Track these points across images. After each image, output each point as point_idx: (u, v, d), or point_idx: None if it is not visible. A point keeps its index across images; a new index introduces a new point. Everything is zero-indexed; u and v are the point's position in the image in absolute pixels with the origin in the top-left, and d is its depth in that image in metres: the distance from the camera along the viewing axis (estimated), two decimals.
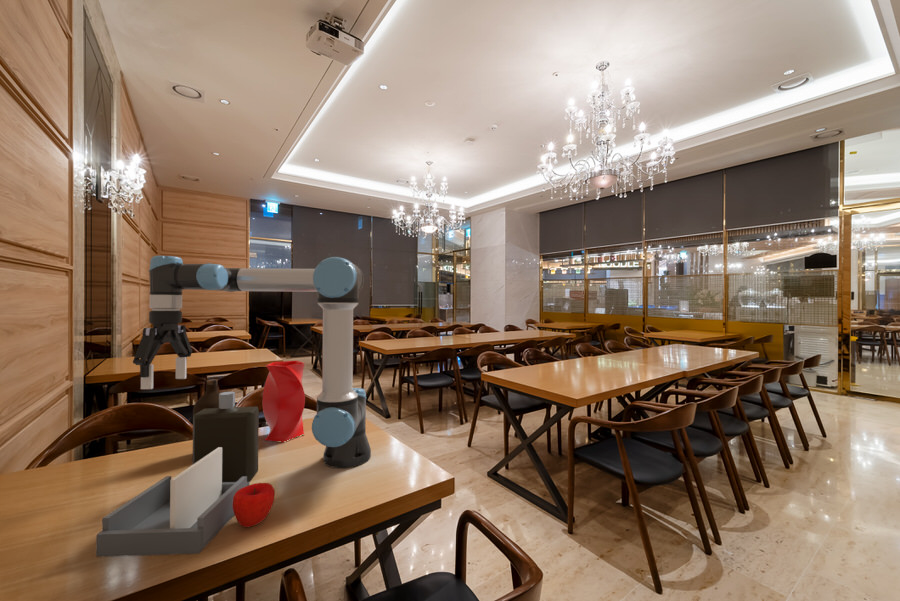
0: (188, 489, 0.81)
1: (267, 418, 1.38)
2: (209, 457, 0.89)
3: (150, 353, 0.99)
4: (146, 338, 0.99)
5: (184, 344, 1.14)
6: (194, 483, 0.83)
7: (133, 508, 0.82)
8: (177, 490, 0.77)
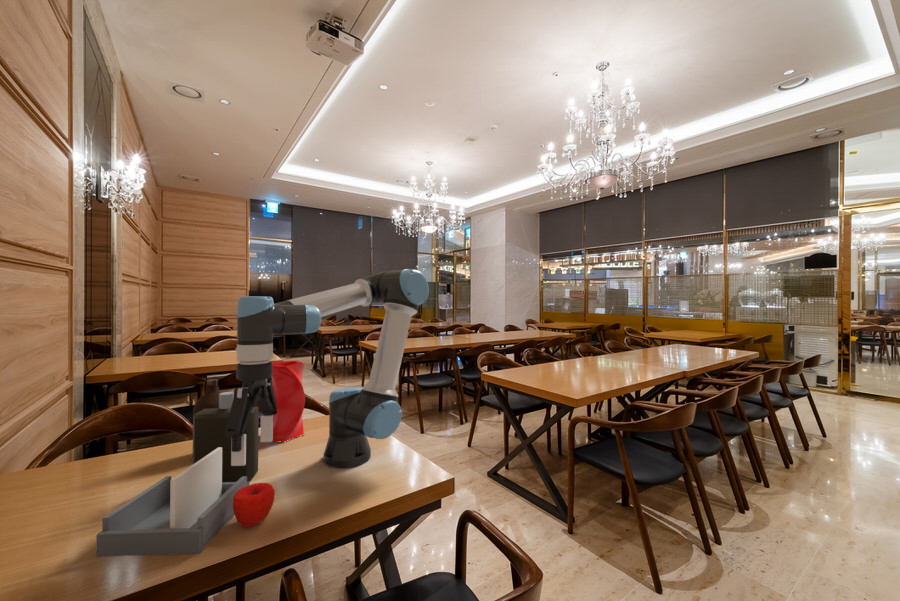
0: (188, 489, 0.81)
1: None
2: (209, 457, 0.89)
3: (242, 420, 0.80)
4: (238, 402, 0.79)
5: (269, 399, 0.94)
6: (194, 483, 0.83)
7: (133, 508, 0.82)
8: (177, 490, 0.77)
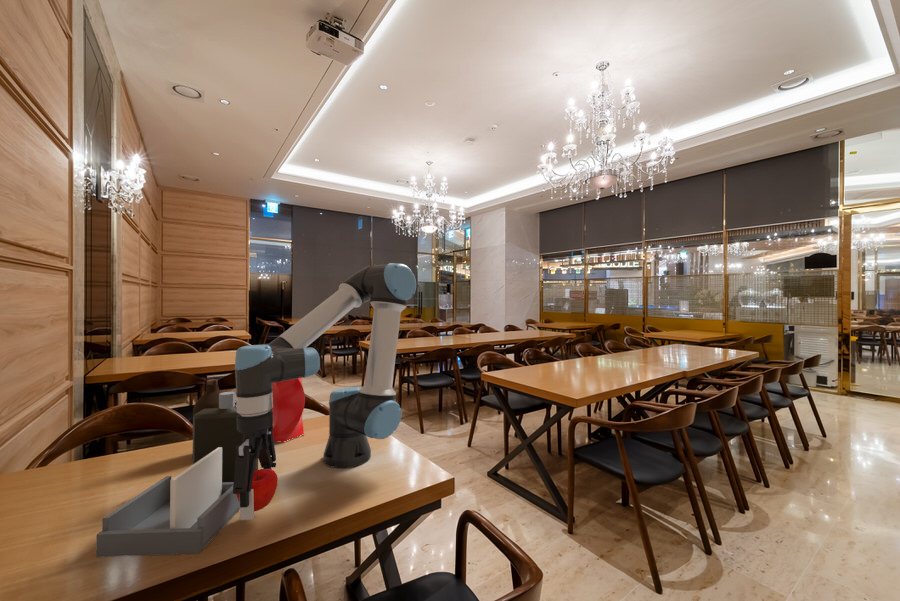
0: (188, 489, 0.81)
1: None
2: (209, 457, 0.89)
3: (248, 476, 0.81)
4: (241, 460, 0.80)
5: (269, 450, 0.93)
6: (194, 483, 0.83)
7: (133, 508, 0.82)
8: (177, 490, 0.77)
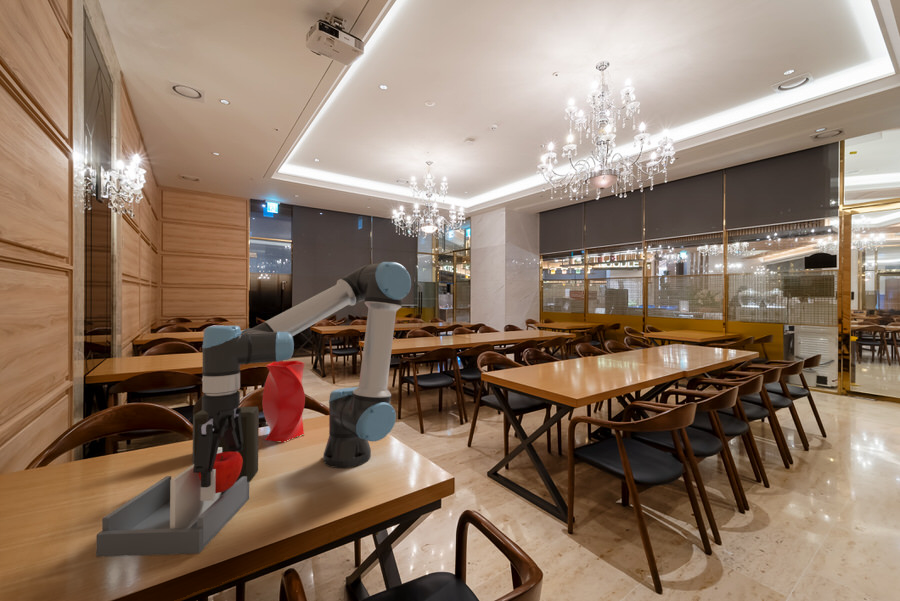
0: (188, 489, 0.81)
1: (267, 418, 1.38)
2: None
3: (210, 455, 0.80)
4: (203, 439, 0.79)
5: (236, 433, 0.92)
6: (194, 483, 0.83)
7: (133, 508, 0.82)
8: (177, 490, 0.77)
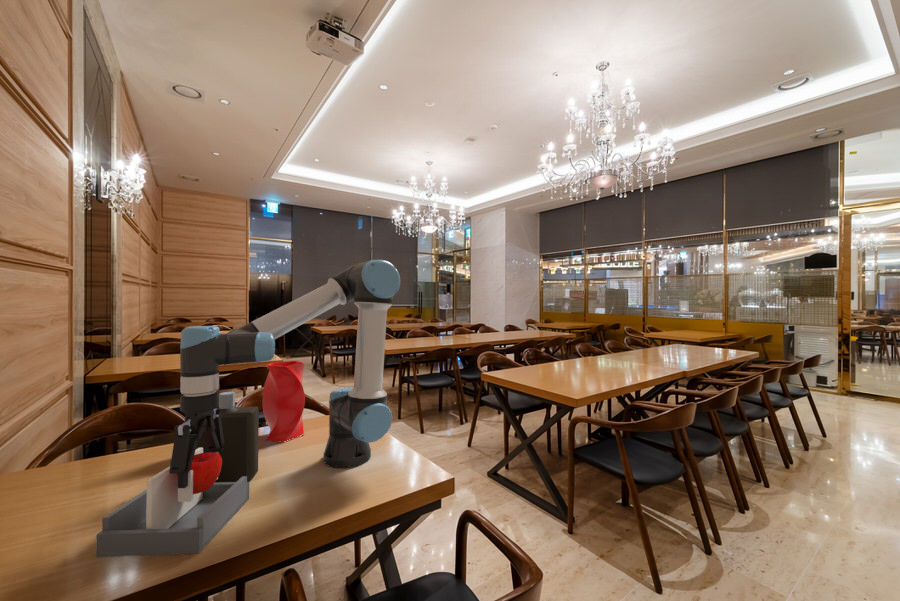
0: (166, 490, 0.81)
1: (267, 418, 1.38)
2: None
3: (187, 456, 0.80)
4: (180, 439, 0.79)
5: (216, 433, 0.92)
6: (172, 483, 0.83)
7: (133, 508, 0.82)
8: (154, 490, 0.77)
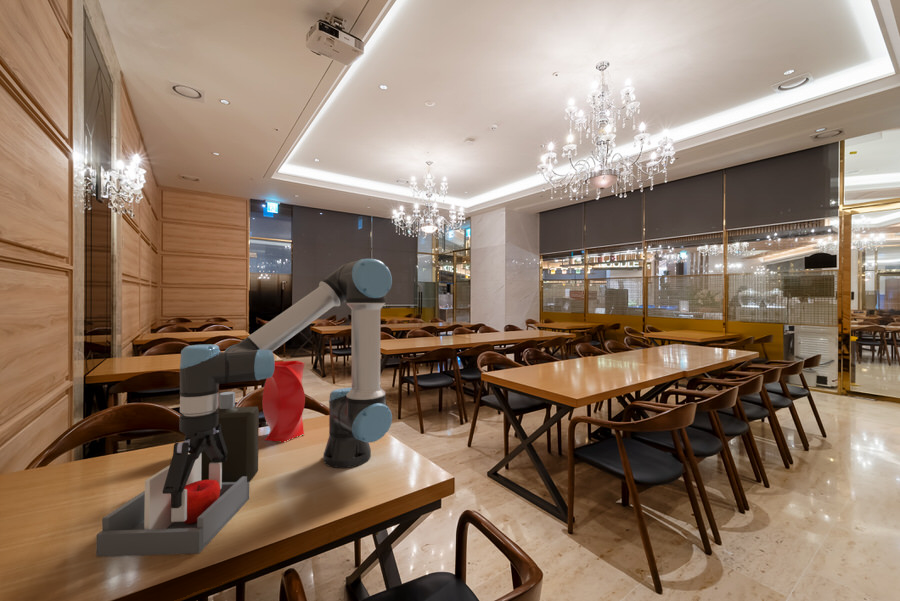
0: None
1: (267, 418, 1.38)
2: None
3: (183, 475, 0.79)
4: (178, 457, 0.78)
5: (219, 446, 0.93)
6: None
7: (133, 508, 0.82)
8: (152, 491, 0.77)
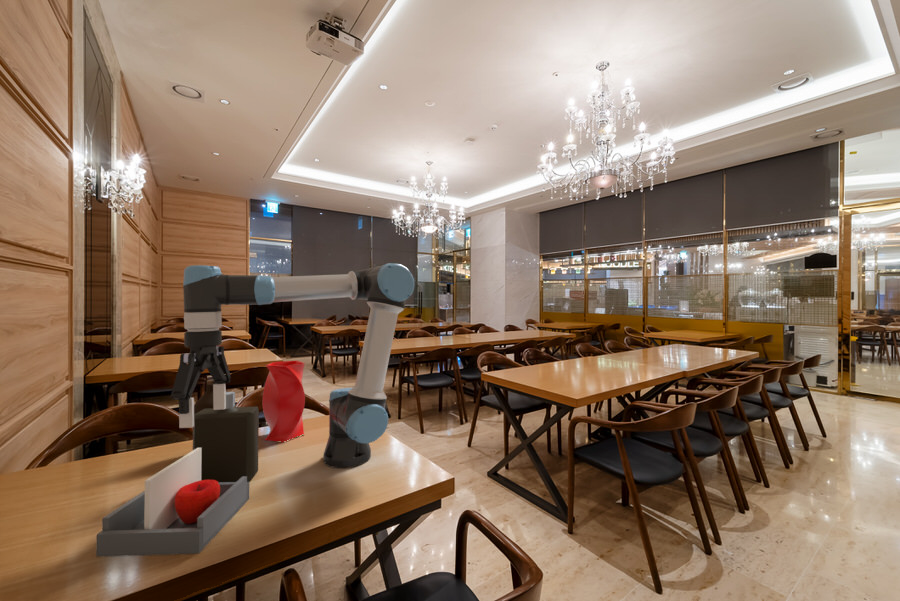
0: (164, 490, 0.81)
1: (267, 418, 1.38)
2: (187, 457, 0.88)
3: (189, 384, 0.82)
4: (184, 366, 0.81)
5: (222, 368, 0.96)
6: (170, 484, 0.83)
7: (133, 508, 0.82)
8: (152, 491, 0.77)
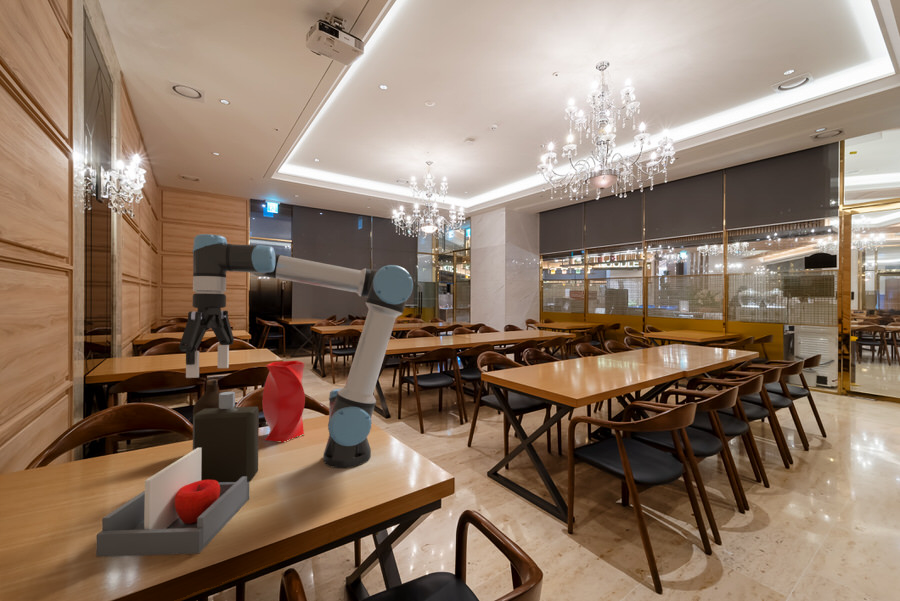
0: (164, 490, 0.81)
1: (267, 418, 1.38)
2: (187, 457, 0.88)
3: (196, 339, 0.92)
4: (192, 322, 0.91)
5: (226, 331, 1.06)
6: (170, 484, 0.83)
7: (133, 508, 0.82)
8: (152, 491, 0.77)
